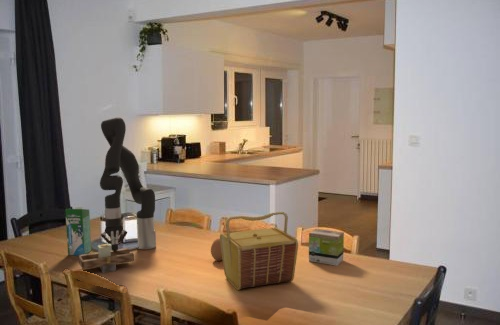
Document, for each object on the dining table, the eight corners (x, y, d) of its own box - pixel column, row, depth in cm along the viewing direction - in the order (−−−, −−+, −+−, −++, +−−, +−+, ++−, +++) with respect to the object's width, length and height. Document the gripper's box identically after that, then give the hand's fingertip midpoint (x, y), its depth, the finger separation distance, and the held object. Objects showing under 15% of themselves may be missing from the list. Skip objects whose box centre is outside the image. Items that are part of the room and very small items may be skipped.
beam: (128, 259, 246) (127, 247, 245) (135, 267, 233) (134, 254, 232) (78, 267, 235) (78, 254, 234) (83, 276, 222) (82, 262, 222)
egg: (207, 261, 241) (207, 239, 239) (216, 257, 248) (216, 235, 247) (222, 264, 237) (221, 241, 236) (230, 259, 244) (230, 237, 243)
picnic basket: (276, 267, 231) (275, 205, 228) (301, 285, 208) (300, 217, 204) (218, 275, 221) (216, 211, 217) (237, 296, 197) (235, 224, 194)
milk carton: (91, 250, 263) (89, 205, 260) (84, 255, 254) (81, 208, 251) (75, 250, 264) (73, 205, 261) (67, 255, 255) (65, 208, 252)
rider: (108, 257, 236) (108, 243, 236) (111, 259, 232) (110, 245, 231) (98, 258, 234) (97, 244, 233) (100, 261, 230) (99, 247, 229)
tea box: (308, 262, 239) (308, 232, 237) (315, 256, 247) (315, 228, 246) (337, 266, 232) (338, 236, 230) (343, 260, 240) (344, 231, 239)
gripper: (125, 213, 239) (126, 247, 241) (97, 216, 233) (99, 251, 235) (128, 216, 233) (130, 251, 235) (100, 219, 227) (102, 255, 229)
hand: (114, 251), depth 235 cm, fingers closed
